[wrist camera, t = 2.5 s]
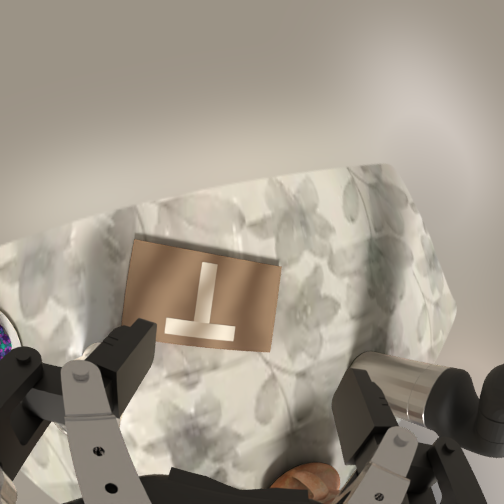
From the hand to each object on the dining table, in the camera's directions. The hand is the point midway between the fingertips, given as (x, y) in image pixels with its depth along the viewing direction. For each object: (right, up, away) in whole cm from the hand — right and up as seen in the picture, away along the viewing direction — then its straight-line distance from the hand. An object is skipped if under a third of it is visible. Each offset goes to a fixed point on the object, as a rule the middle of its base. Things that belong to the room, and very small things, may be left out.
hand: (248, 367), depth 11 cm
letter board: (-6, -2, +26) cm, 27 cm away
